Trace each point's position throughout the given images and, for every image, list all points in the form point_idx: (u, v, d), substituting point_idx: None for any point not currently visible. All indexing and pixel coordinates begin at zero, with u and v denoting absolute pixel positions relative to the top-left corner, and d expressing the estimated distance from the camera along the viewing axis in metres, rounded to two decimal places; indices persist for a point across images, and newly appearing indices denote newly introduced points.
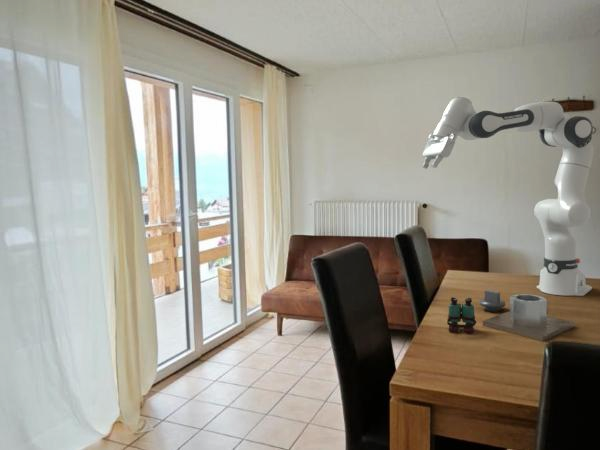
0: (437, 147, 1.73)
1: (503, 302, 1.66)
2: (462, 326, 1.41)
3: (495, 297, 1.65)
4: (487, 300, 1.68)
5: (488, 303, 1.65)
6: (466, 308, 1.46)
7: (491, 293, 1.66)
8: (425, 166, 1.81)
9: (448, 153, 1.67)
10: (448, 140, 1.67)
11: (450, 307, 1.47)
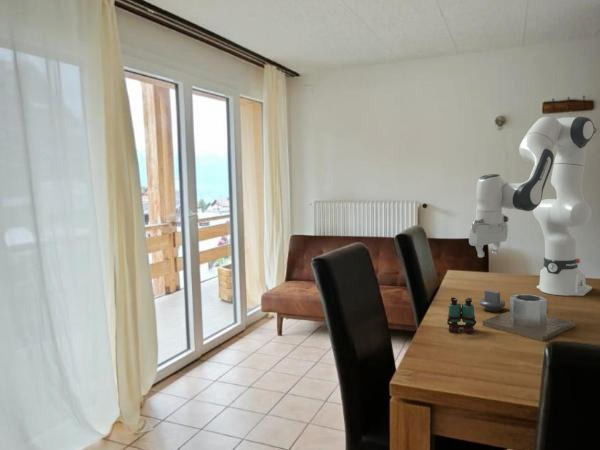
0: None
1: (503, 302, 1.66)
2: (462, 326, 1.41)
3: (495, 297, 1.65)
4: (487, 300, 1.68)
5: (488, 303, 1.65)
6: (466, 308, 1.46)
7: (491, 293, 1.66)
8: (493, 252, 1.68)
9: (475, 242, 1.58)
10: (470, 230, 1.60)
11: (450, 307, 1.47)
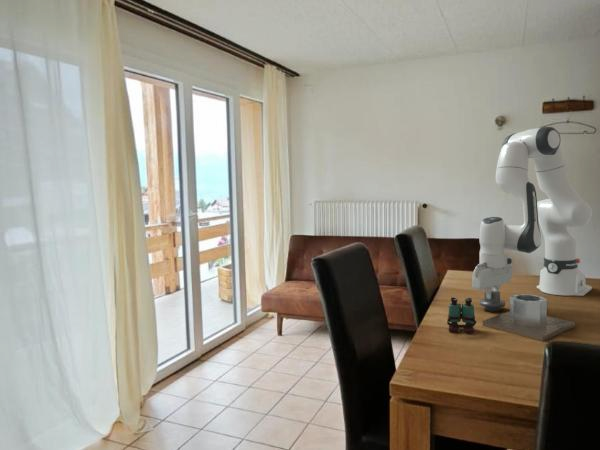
0: None
1: (503, 302, 1.66)
2: (462, 326, 1.41)
3: (495, 296, 1.65)
4: (487, 300, 1.68)
5: (488, 303, 1.65)
6: (466, 308, 1.46)
7: None
8: None
9: (478, 286, 1.60)
10: (473, 274, 1.62)
11: (450, 307, 1.47)
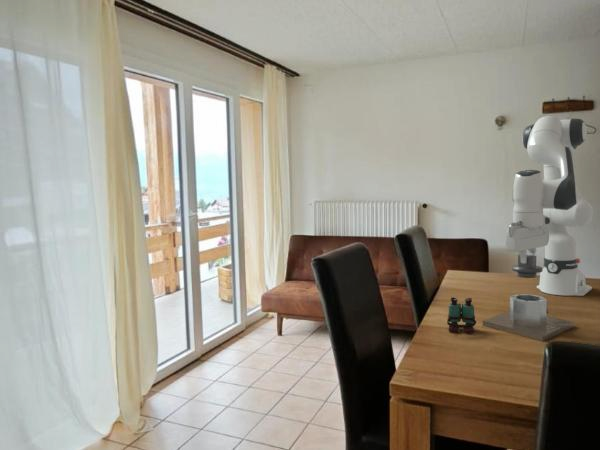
0: None
1: (540, 267, 1.45)
2: (462, 326, 1.41)
3: (531, 261, 1.44)
4: (521, 265, 1.47)
5: (523, 268, 1.44)
6: (466, 308, 1.46)
7: None
8: None
9: (512, 248, 1.39)
10: (507, 234, 1.41)
11: (450, 307, 1.47)
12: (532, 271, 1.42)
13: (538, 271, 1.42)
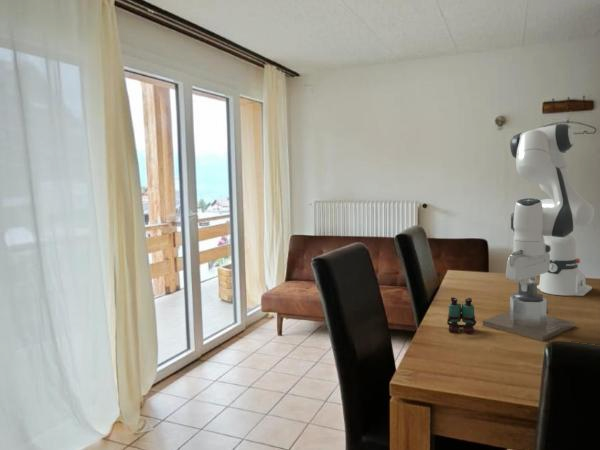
0: None
1: (540, 295, 1.46)
2: (462, 326, 1.41)
3: (531, 289, 1.45)
4: (522, 293, 1.48)
5: (523, 296, 1.45)
6: (466, 308, 1.46)
7: None
8: None
9: (513, 277, 1.40)
10: (508, 263, 1.42)
11: (450, 307, 1.47)
12: (533, 300, 1.43)
13: (539, 299, 1.43)
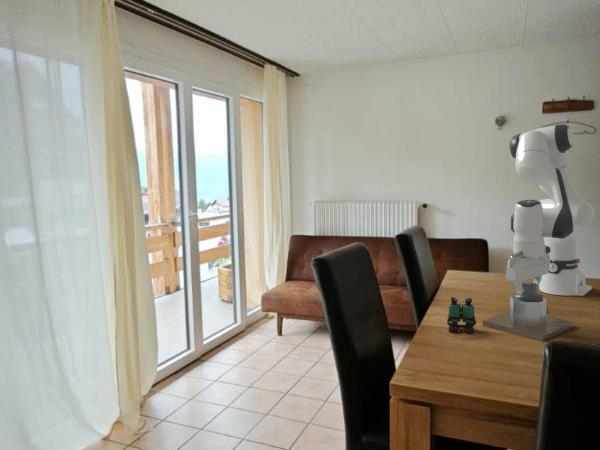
0: None
1: (540, 295, 1.46)
2: (462, 326, 1.41)
3: (531, 289, 1.45)
4: None
5: (523, 296, 1.45)
6: (466, 308, 1.46)
7: (527, 285, 1.46)
8: None
9: (513, 279, 1.40)
10: (508, 264, 1.42)
11: (450, 307, 1.47)
12: (533, 300, 1.43)
13: (539, 299, 1.43)
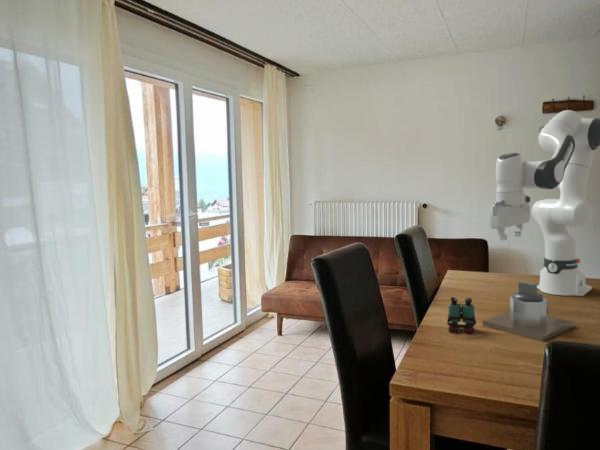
0: None
1: (540, 295, 1.46)
2: (462, 326, 1.41)
3: (531, 289, 1.45)
4: (522, 293, 1.48)
5: (523, 296, 1.45)
6: (466, 308, 1.46)
7: (527, 285, 1.46)
8: (516, 234, 1.62)
9: (496, 225, 1.52)
10: (491, 213, 1.54)
11: (450, 307, 1.47)
12: (533, 300, 1.43)
13: (539, 299, 1.43)
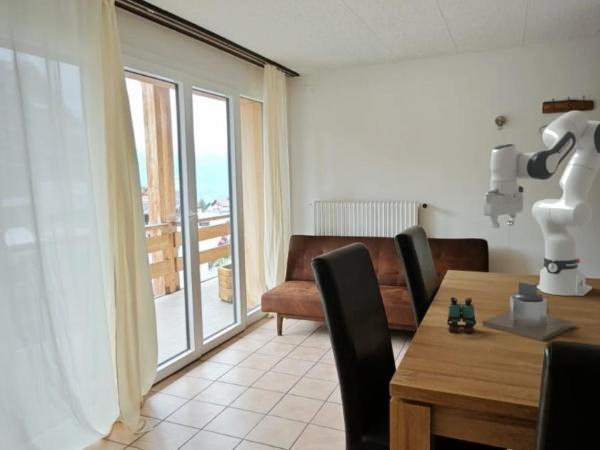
0: None
1: (540, 295, 1.46)
2: (462, 326, 1.41)
3: (531, 289, 1.45)
4: (522, 293, 1.48)
5: (523, 296, 1.45)
6: (466, 308, 1.46)
7: (527, 285, 1.46)
8: (509, 224, 1.67)
9: (489, 212, 1.58)
10: (485, 200, 1.59)
11: (450, 307, 1.47)
12: (533, 300, 1.43)
13: (539, 299, 1.43)
